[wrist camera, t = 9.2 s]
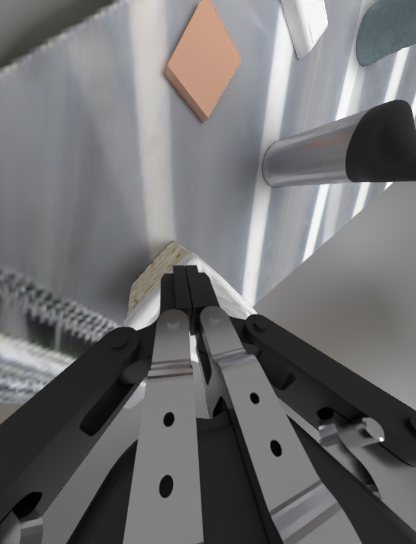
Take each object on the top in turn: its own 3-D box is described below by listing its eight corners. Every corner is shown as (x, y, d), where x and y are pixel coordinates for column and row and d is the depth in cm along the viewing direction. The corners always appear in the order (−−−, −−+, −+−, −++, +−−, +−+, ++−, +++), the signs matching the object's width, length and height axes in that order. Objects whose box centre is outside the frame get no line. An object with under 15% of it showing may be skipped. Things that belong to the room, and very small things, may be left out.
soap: (277, -3, 27) (292, -23, 24) (298, -33, 26) (316, -57, 24) (296, 63, 32) (311, 51, 29) (314, 38, 31) (330, 24, 29)
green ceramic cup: (390, 9, 35) (492, -63, 25) (371, 76, 40) (452, 37, 30) (364, -6, 32) (470, -96, 22) (347, 68, 36) (429, 22, 27)
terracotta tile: (208, 118, 27) (241, 59, 26) (167, 64, 23) (205, -10, 21) (202, 123, 29) (233, 69, 28) (163, 75, 25) (198, 8, 23)
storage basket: (229, 288, 48) (264, 319, 36) (193, 327, 48) (215, 372, 36) (172, 232, 34) (197, 252, 22) (120, 287, 34) (117, 337, 22)
